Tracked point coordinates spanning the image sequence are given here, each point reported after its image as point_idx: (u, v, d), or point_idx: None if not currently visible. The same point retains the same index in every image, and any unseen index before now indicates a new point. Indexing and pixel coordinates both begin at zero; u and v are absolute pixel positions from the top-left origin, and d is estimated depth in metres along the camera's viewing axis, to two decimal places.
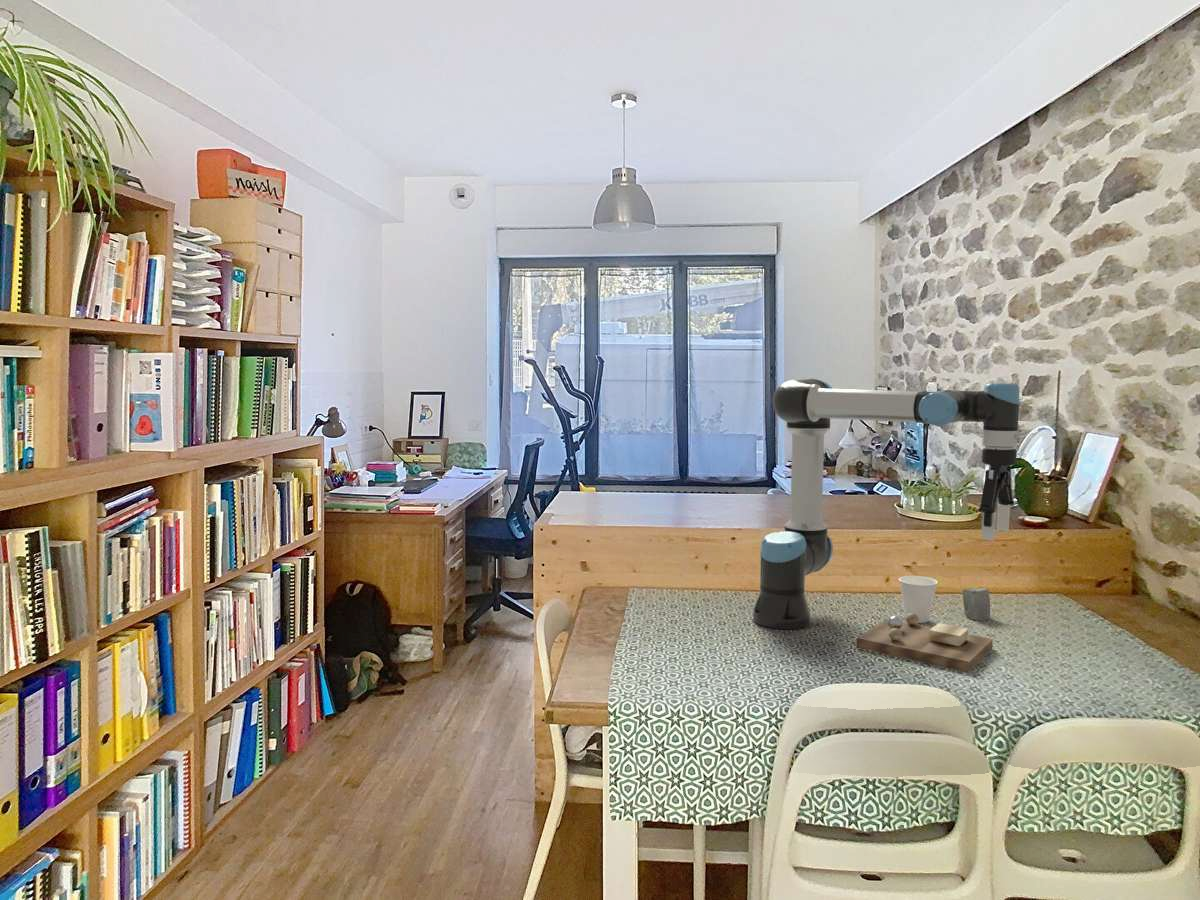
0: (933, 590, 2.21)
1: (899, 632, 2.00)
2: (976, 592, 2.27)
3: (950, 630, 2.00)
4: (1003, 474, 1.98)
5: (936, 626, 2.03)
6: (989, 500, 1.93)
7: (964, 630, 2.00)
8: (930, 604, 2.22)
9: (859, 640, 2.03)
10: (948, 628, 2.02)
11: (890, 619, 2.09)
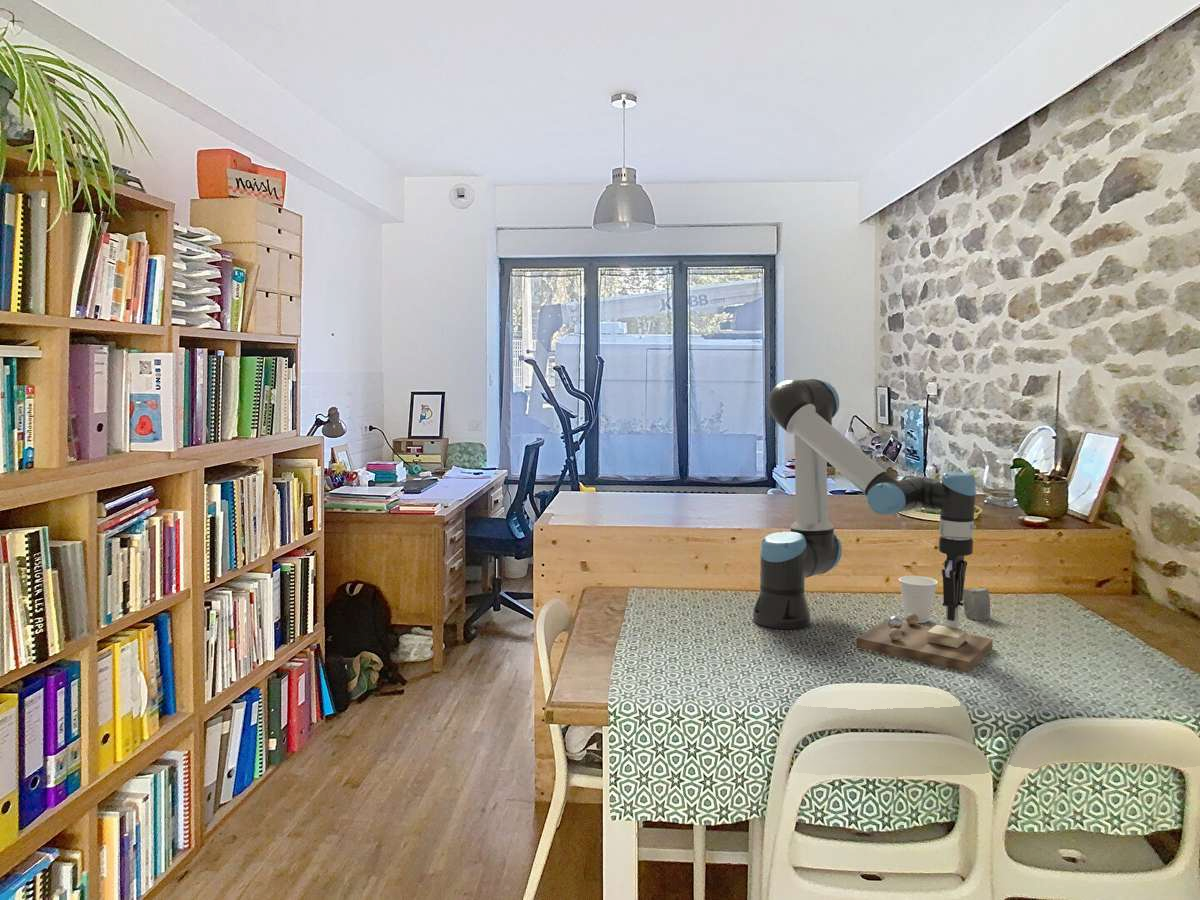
0: (933, 590, 2.21)
1: (899, 632, 2.00)
2: (976, 592, 2.27)
3: (948, 632, 1.99)
4: (959, 565, 1.99)
5: (934, 628, 2.02)
6: (950, 598, 1.99)
7: (962, 632, 1.99)
8: (930, 604, 2.22)
9: (859, 640, 2.03)
10: (946, 629, 2.01)
11: (890, 619, 2.09)
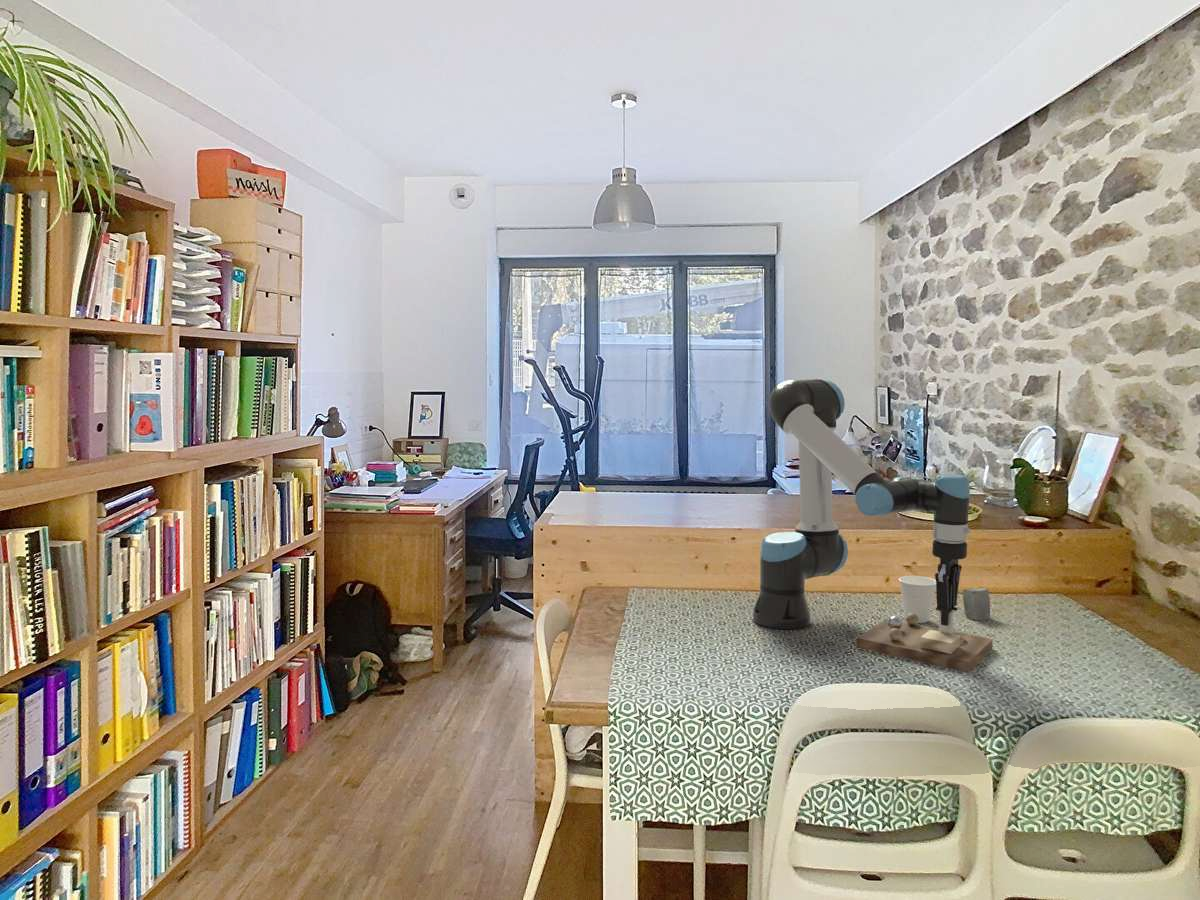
0: (933, 590, 2.21)
1: (899, 632, 2.00)
2: (976, 592, 2.27)
3: (942, 637, 1.95)
4: (953, 569, 1.95)
5: (927, 633, 1.98)
6: (944, 602, 1.95)
7: (956, 637, 1.95)
8: (930, 604, 2.22)
9: (859, 640, 2.03)
10: (940, 635, 1.97)
11: (890, 619, 2.09)
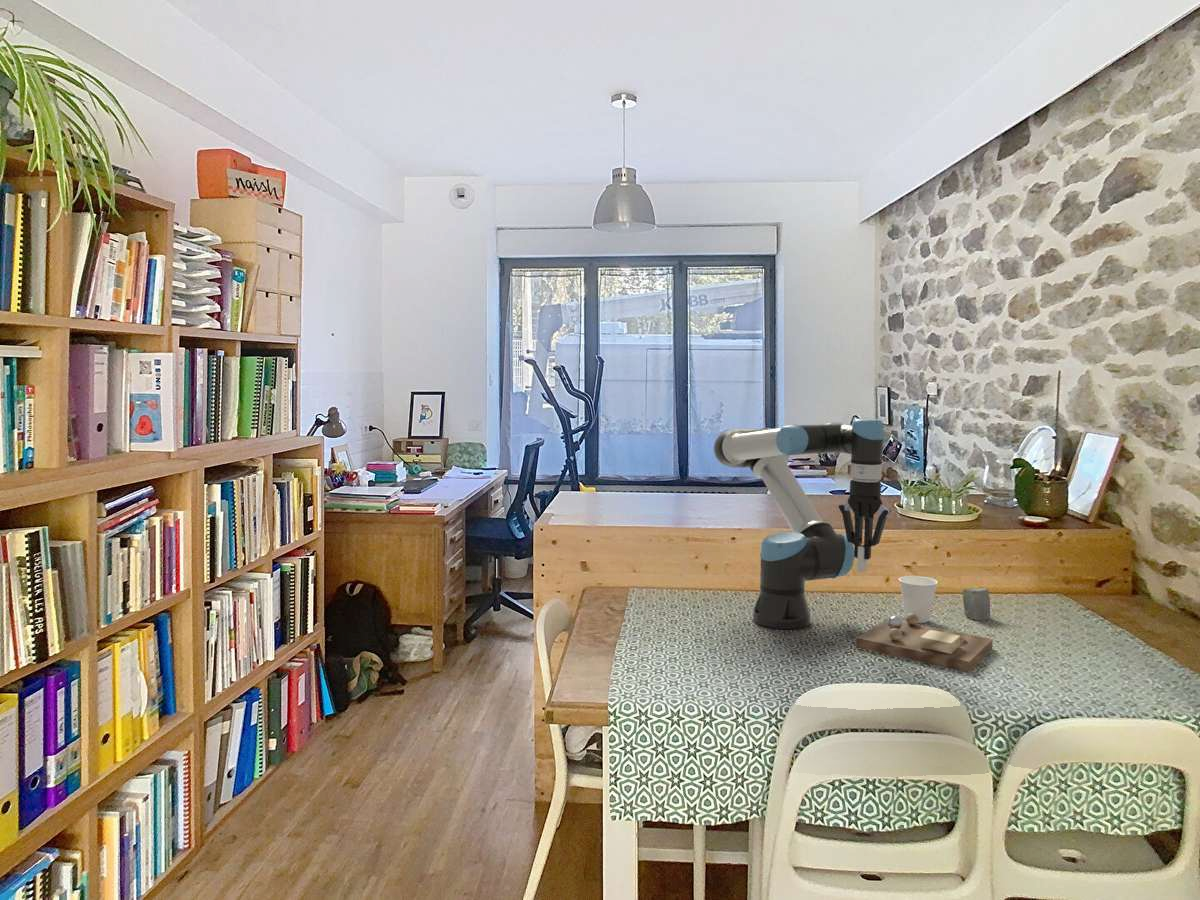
0: (933, 590, 2.21)
1: (899, 632, 2.00)
2: (976, 592, 2.27)
3: (942, 637, 1.95)
4: None
5: (927, 633, 1.98)
6: None
7: (956, 637, 1.95)
8: (930, 604, 2.22)
9: (859, 640, 2.03)
10: (940, 635, 1.97)
11: (890, 619, 2.09)
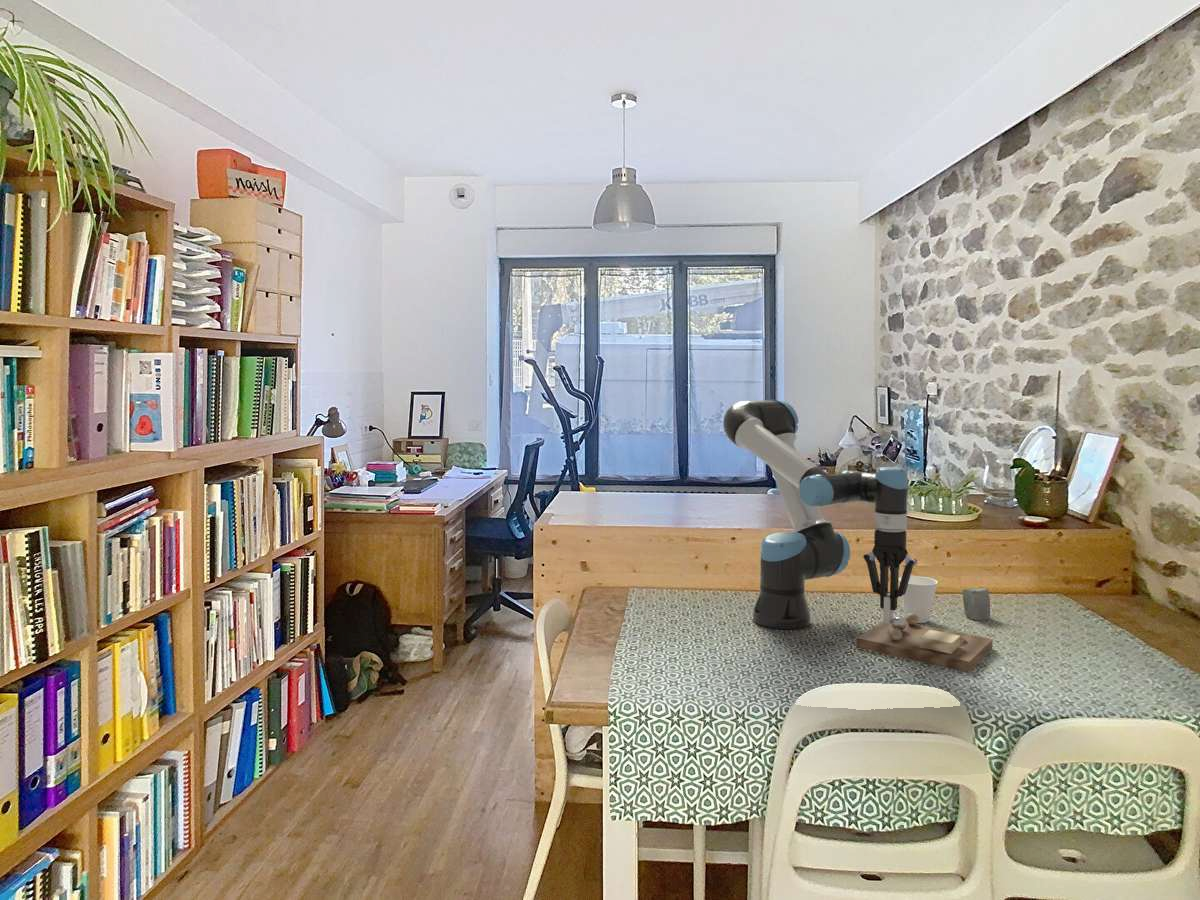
0: (933, 590, 2.21)
1: (899, 632, 2.00)
2: (976, 592, 2.27)
3: (942, 637, 1.95)
4: None
5: (927, 633, 1.98)
6: None
7: (956, 637, 1.95)
8: (930, 604, 2.22)
9: (859, 640, 2.03)
10: (940, 635, 1.97)
11: (896, 619, 2.08)
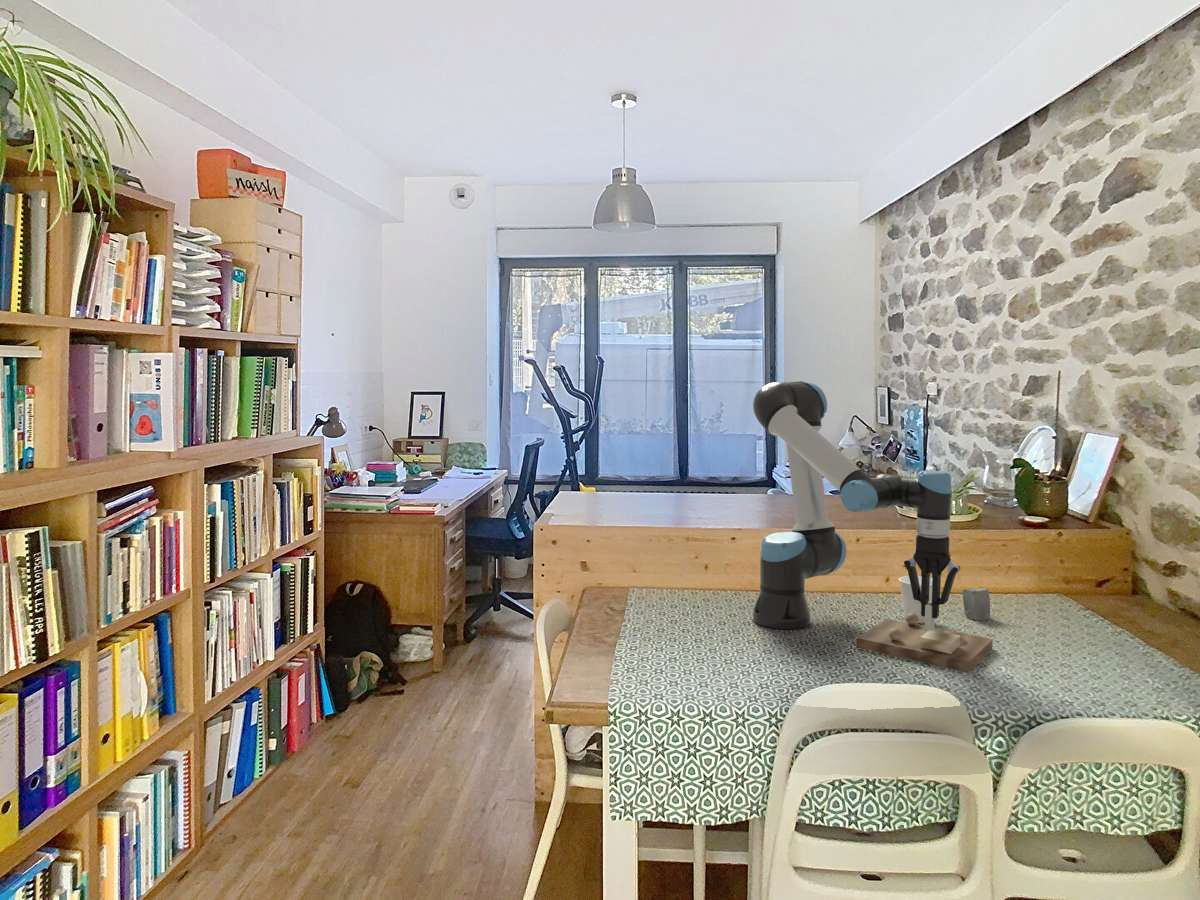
0: None
1: (899, 632, 2.00)
2: (976, 592, 2.27)
3: (942, 637, 1.95)
4: None
5: (927, 633, 1.98)
6: None
7: (956, 637, 1.95)
8: None
9: (859, 640, 2.03)
10: (940, 635, 1.97)
11: None
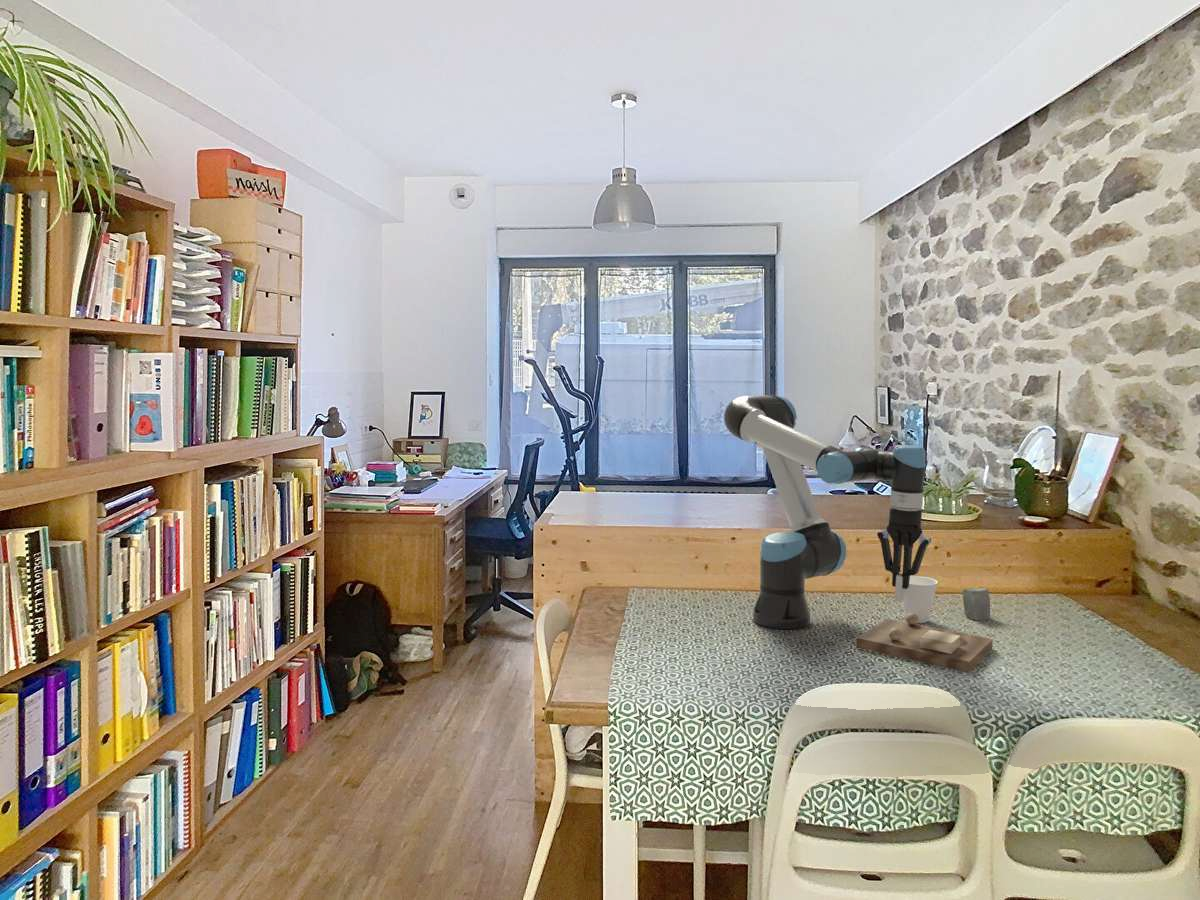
0: (933, 590, 2.21)
1: (899, 632, 2.00)
2: (976, 592, 2.27)
3: (942, 637, 1.95)
4: None
5: (927, 633, 1.98)
6: None
7: (956, 637, 1.95)
8: (930, 604, 2.22)
9: (859, 640, 2.03)
10: (940, 635, 1.97)
11: None
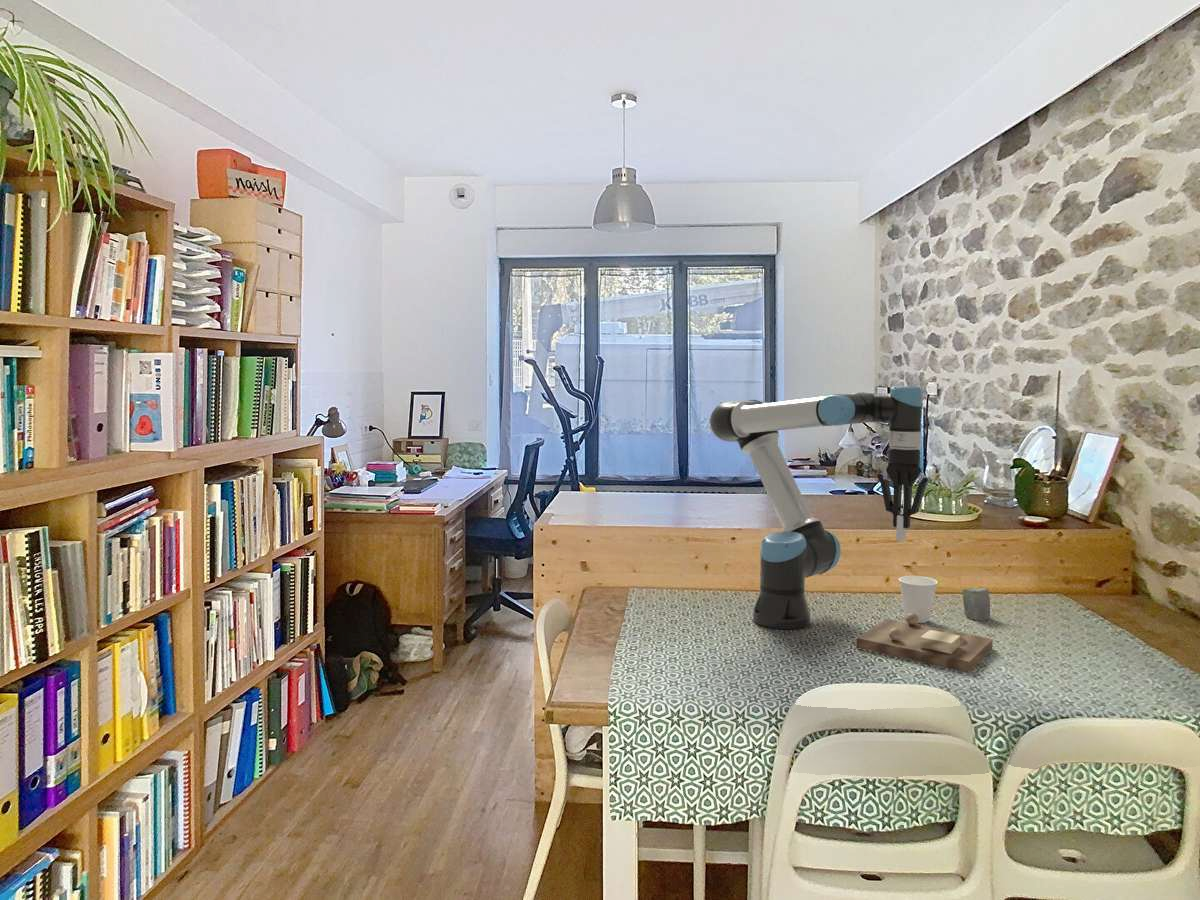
0: (933, 590, 2.21)
1: (899, 632, 2.00)
2: (976, 592, 2.27)
3: (942, 637, 1.95)
4: None
5: (927, 633, 1.98)
6: None
7: (956, 637, 1.95)
8: (930, 604, 2.22)
9: (859, 640, 2.03)
10: (940, 635, 1.97)
11: None
